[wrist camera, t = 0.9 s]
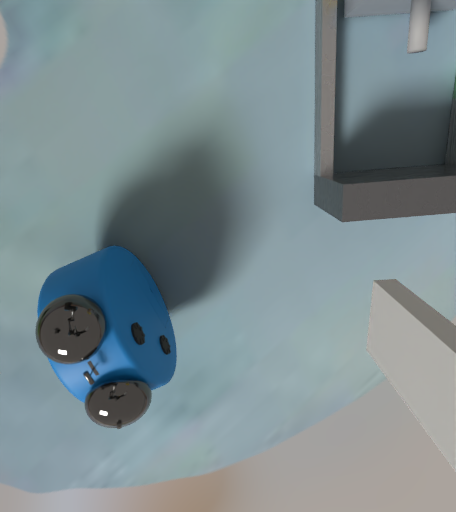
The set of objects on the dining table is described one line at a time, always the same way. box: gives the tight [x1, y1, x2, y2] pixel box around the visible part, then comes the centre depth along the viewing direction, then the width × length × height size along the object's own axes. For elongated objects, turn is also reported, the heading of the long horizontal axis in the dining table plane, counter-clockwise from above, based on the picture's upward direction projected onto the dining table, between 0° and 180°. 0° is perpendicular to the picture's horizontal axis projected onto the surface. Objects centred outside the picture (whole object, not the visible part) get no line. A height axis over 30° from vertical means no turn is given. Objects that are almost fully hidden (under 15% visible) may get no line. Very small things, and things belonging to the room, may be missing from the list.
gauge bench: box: [314, 0, 456, 222], centre depth 29 cm, size 18×14×8 cm
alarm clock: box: [36, 246, 177, 429], centre depth 31 cm, size 13×6×15 cm, turn 23°
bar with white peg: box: [344, 0, 456, 53], centre depth 28 cm, size 5×12×7 cm, turn 94°
